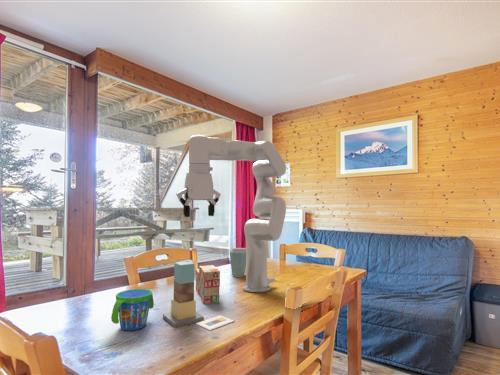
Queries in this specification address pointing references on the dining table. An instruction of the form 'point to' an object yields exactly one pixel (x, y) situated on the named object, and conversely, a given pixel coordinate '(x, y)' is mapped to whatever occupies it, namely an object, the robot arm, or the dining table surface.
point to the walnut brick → (183, 292)
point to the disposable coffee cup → (238, 261)
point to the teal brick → (184, 272)
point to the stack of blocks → (208, 283)
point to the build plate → (182, 322)
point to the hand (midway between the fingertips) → (199, 216)
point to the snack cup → (132, 308)
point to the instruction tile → (214, 322)
